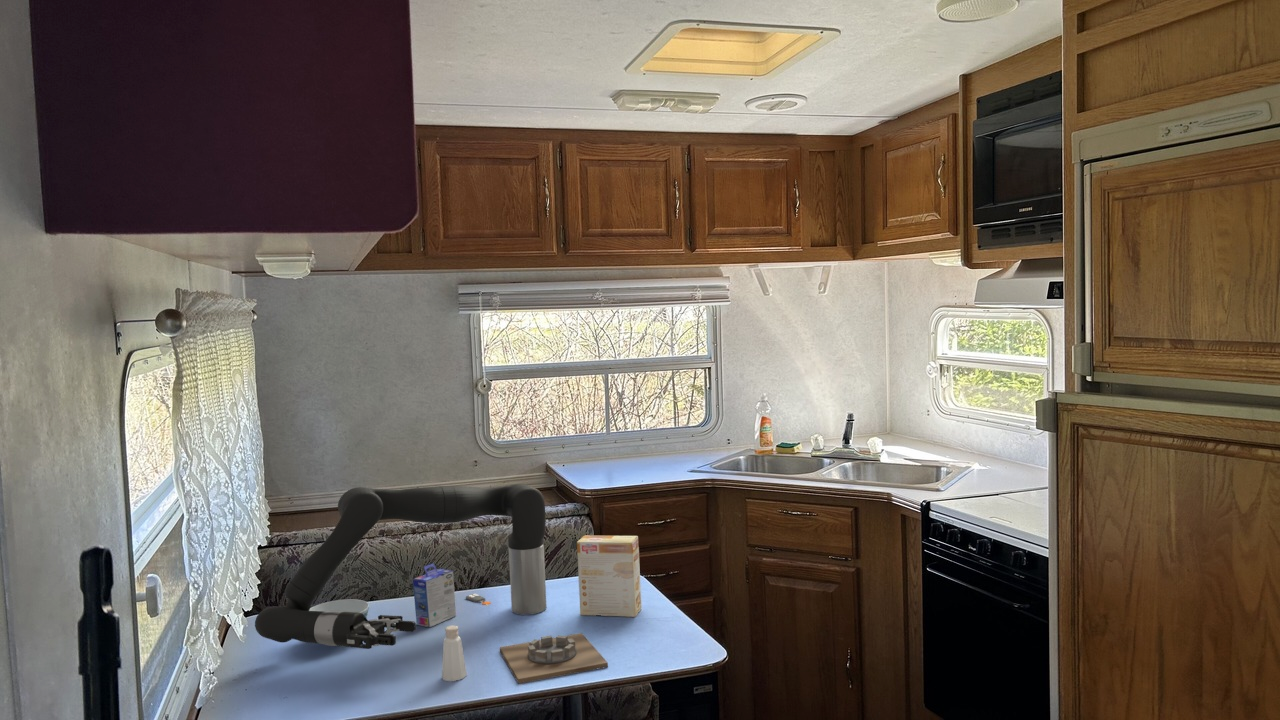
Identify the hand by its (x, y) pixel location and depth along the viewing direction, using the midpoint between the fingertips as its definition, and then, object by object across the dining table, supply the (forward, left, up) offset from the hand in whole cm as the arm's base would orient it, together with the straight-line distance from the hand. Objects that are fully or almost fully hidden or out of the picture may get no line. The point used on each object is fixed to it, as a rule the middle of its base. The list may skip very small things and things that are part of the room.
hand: (405, 633), depth 196 cm
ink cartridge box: (-33, +10, -9) cm, 36 cm away
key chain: (-42, +24, -10) cm, 49 cm away
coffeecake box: (-18, +53, -9) cm, 57 cm away
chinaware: (-30, -14, -9) cm, 34 cm away
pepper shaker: (+6, +9, -9) cm, 15 cm away
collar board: (+6, +31, -9) cm, 33 cm away
